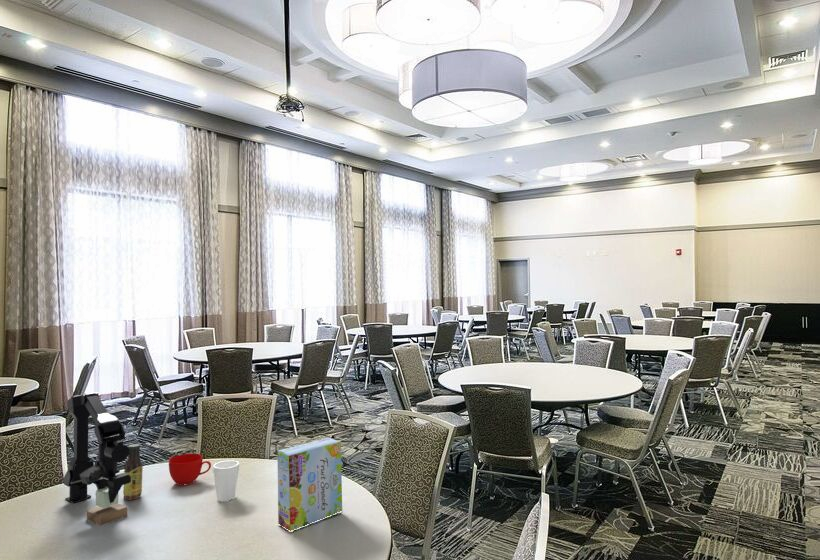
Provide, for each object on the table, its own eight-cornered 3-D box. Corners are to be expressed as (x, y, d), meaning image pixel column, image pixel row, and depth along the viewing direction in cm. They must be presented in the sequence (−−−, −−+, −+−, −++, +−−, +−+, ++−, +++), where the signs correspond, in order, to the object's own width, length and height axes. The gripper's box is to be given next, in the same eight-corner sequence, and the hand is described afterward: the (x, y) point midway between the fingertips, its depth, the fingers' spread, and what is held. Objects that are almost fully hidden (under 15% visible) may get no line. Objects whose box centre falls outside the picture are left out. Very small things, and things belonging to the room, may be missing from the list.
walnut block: (86, 521, 178) (86, 510, 178) (112, 511, 186) (112, 501, 186) (101, 526, 173) (101, 516, 173) (127, 516, 181) (127, 506, 181)
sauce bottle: (133, 501, 193) (134, 448, 193) (119, 500, 194) (120, 447, 195) (145, 494, 199) (146, 443, 200) (132, 493, 201) (132, 442, 201)
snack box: (328, 506, 189) (329, 436, 189) (343, 514, 182) (343, 441, 183) (276, 525, 173) (276, 449, 174) (289, 534, 167) (290, 454, 168)
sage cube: (95, 505, 178) (95, 490, 179) (110, 500, 183) (110, 485, 183) (103, 508, 176) (104, 493, 176) (118, 502, 180) (118, 488, 180)
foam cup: (207, 501, 193) (207, 466, 194) (224, 492, 202) (225, 459, 202) (227, 505, 190) (227, 469, 190) (244, 495, 198) (244, 462, 199)
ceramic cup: (204, 488, 206) (204, 463, 206) (162, 488, 206) (162, 463, 206) (216, 477, 219) (216, 453, 219) (177, 476, 219) (177, 453, 219)
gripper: (68, 458, 177) (68, 503, 177) (99, 467, 168) (99, 515, 168) (101, 449, 187) (100, 492, 187) (132, 457, 178) (131, 503, 178)
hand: (107, 500), depth 180 cm, fingers closed on sage cube, 5 cm apart
